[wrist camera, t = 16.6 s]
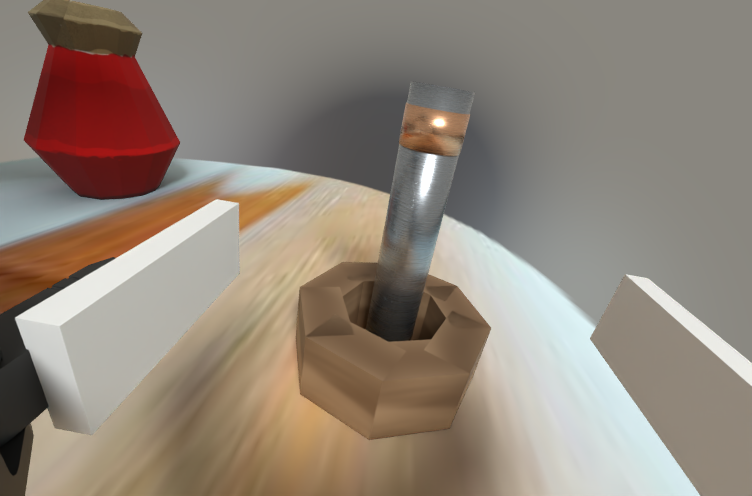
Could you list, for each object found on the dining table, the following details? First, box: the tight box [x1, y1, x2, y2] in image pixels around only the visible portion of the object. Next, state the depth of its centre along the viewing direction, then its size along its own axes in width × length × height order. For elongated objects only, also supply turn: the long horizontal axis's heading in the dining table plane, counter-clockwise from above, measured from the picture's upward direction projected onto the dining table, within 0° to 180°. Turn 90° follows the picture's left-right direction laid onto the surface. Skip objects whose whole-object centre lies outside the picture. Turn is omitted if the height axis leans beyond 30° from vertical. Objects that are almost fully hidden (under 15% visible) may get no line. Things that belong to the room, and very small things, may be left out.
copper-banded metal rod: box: [366, 82, 475, 342], centre depth 21 cm, size 3×3×18 cm
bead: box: [296, 262, 491, 440], centre depth 24 cm, size 12×12×4 cm
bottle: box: [24, 0, 180, 200], centre depth 41 cm, size 16×14×20 cm
